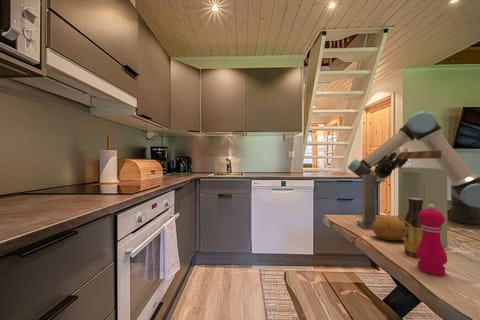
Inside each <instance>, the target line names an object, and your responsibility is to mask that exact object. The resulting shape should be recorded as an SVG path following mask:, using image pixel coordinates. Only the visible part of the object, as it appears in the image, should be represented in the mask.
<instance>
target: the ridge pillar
mask: <svg viewBox="0 0 480 320" xmlns="http://www.w3.org/2000/svg"><path fill="white" fill-rule="evenodd" d="M362 179H363V180H362ZM376 179H377V175H361V180H362V220H357V221H356V225H357V226H358V227H359V228H361V229H363V230H369V231H373V229H372V224H373V222H374V221H375V220H376V208H377V207H376V197H377V195H376V189H377V186H376Z"/></svg>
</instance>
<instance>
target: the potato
mask: <svg viewBox="0 0 480 320" xmlns="http://www.w3.org/2000/svg"><path fill="white" fill-rule="evenodd" d="M372 229H373V230H372V232H373V233H374V234H375V236H377V237H379V238H381V239H383V240H386V241H397V240H398V241H399V240H402V239H404V222H403V221H401V220H398V218H393V217H378V218H377V219H376V218H375V221H374V222H373V224H372Z"/></svg>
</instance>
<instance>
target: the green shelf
mask: <svg viewBox="0 0 480 320" xmlns="http://www.w3.org/2000/svg"><path fill="white" fill-rule="evenodd" d="M397 170H398V173H397V174H398V177H397V179H398V182H397V184H398V187H397V188H398V191H397V192H398V194H397V195H398V196H397V197H398V199H397V201H398V202H397V203H398V204H397V207H398V208H397V211H398V213H397V215H398V217H397V220H401V221H403V222H404V219H405V217H406V215H407V213H408V210H409V202H408V198H421V199H423V204H422V210H424V209H428V205H429V204H433V205H434V206H435V209H434V210H437V211H439V212H441V213H442V214H443V215H444V218H445V222H444V223H443V224H442V225H441V227H442V232H441V233H440V240H441V244H442V246H443V247H448V219H447V214H448V176H447V169H444V168H441V167H418V166H417V167H416V166H414V167H412V166H405V167H404V166H402V167H398V168H397Z"/></svg>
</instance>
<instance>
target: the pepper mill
mask: <svg viewBox="0 0 480 320" xmlns="http://www.w3.org/2000/svg"><path fill="white" fill-rule="evenodd" d="M434 209H435V206H434V205H433V204H429V205H428V209H424V210H422V211H421V212H420V213H419V220H420V221H421V222H422V224H421V229H422V231H423V235H422V240H421V242H420V243H419V245H418V247H417V250H416V256H417V257H416V258H418V259H419V260H418V262H417V268H418V269H419V270H420V271H421V272H423V273H425V274H428V275H429V274H430V275H432V276H445V274H446V267H445V265H446V264H447V263H448V256H447V252H446V250H445V248H444V246H442V244H441V240H440V233H441V232H442V227H441V225H442V224H443V223H444V222H445V218H444V215H443V214H442V213H441V212H439V211H437V210H434Z"/></svg>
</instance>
